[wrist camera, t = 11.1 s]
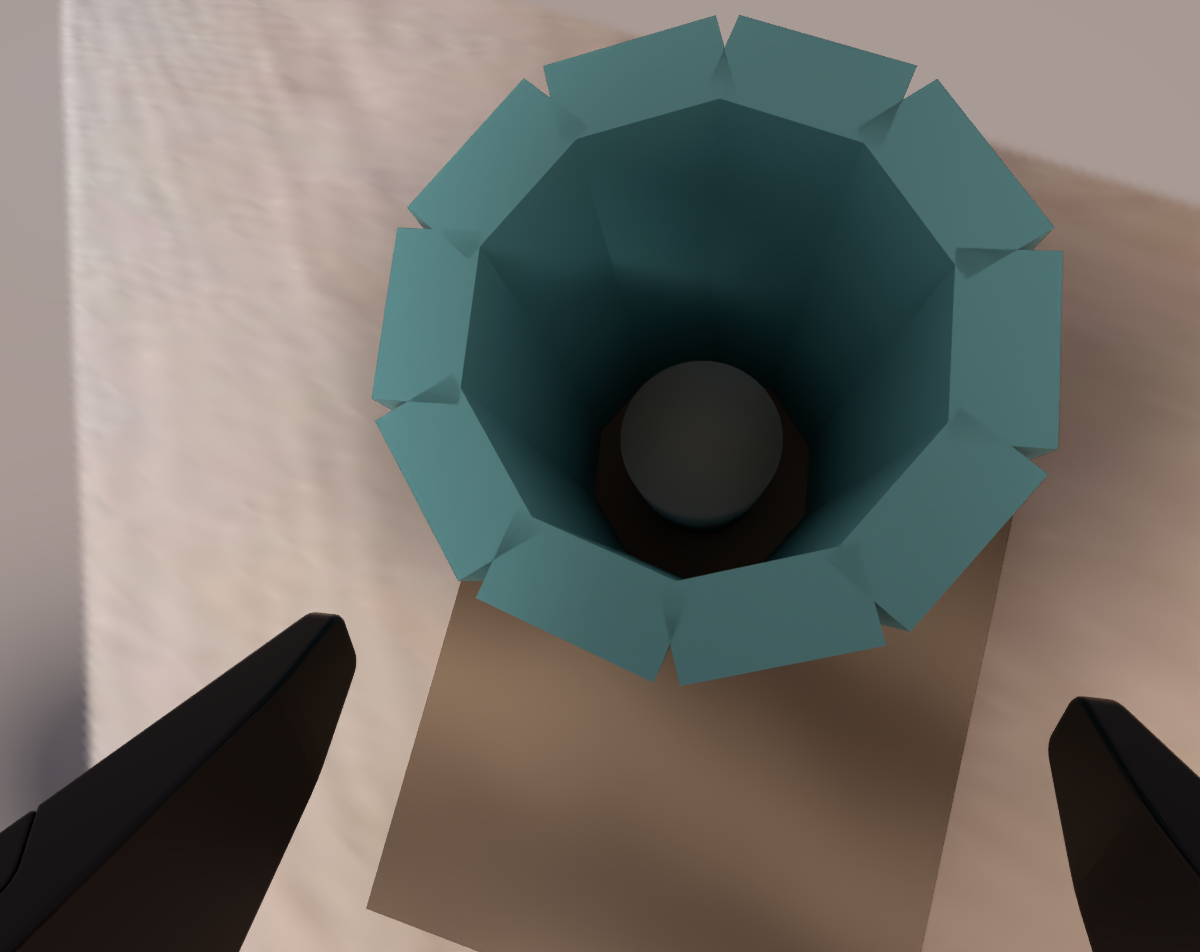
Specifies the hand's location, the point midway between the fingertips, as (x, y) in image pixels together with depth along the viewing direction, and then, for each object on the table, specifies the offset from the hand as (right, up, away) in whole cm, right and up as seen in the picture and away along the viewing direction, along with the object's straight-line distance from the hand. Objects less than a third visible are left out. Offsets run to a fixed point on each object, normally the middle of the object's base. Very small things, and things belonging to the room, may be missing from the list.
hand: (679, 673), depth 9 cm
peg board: (+1, -2, +9) cm, 9 cm away
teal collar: (+1, +3, +8) cm, 9 cm away
